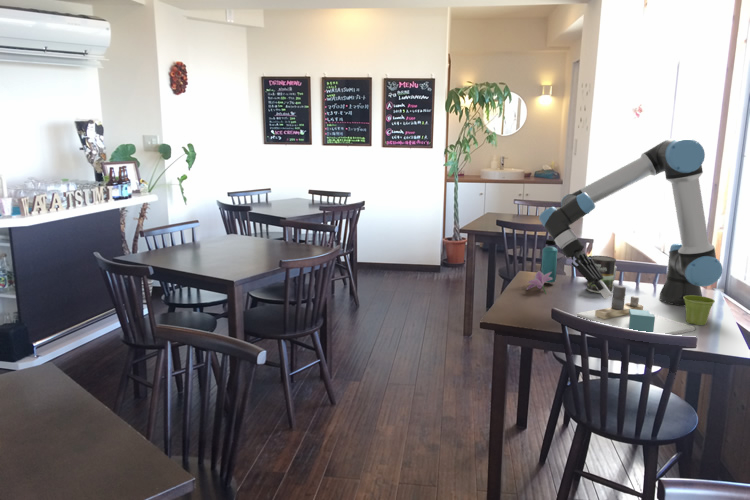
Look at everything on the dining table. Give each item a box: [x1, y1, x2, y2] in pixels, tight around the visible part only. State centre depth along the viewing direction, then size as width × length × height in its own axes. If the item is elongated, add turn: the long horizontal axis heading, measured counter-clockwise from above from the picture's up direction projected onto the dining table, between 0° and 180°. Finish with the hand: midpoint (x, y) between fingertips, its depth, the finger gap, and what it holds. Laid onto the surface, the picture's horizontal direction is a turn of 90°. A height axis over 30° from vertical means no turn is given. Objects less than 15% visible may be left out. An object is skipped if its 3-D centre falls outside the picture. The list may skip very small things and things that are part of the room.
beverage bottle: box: [540, 238, 559, 283], centre depth 241 cm, size 6×7×20 cm
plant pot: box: [683, 295, 715, 326], centre depth 191 cm, size 9×9×9 cm
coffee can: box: [586, 255, 617, 294], centre depth 232 cm, size 10×10×14 cm
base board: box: [575, 306, 696, 335], centre depth 191 cm, size 25×28×1 cm
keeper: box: [629, 309, 655, 332], centre depth 184 cm, size 10×7×6 cm, turn 161°
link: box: [594, 284, 644, 319], centre depth 197 cm, size 21×6×10 cm, turn 118°
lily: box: [526, 270, 553, 295], centre depth 229 cm, size 12×12×10 cm
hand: (608, 296), depth 198 cm, fingers closed
